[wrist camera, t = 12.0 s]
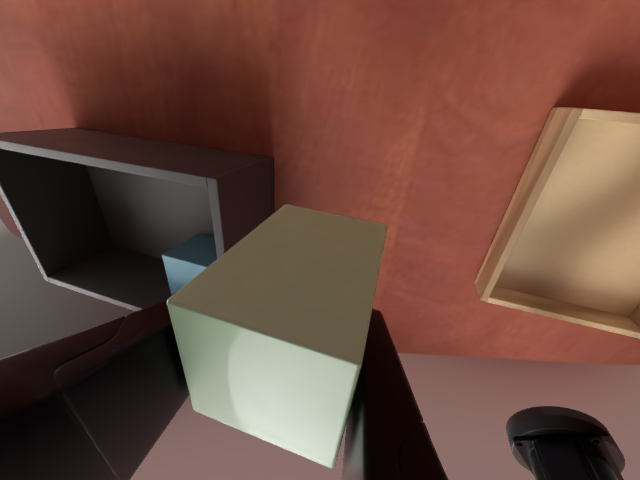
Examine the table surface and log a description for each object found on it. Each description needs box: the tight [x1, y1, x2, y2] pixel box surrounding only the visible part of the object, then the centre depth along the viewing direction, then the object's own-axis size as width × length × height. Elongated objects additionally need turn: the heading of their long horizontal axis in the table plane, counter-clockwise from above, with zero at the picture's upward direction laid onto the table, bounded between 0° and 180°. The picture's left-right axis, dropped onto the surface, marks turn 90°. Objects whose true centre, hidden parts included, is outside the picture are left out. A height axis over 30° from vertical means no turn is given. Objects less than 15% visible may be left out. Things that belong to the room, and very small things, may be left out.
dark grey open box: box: [0, 128, 274, 311], centre depth 21 cm, size 19×12×6 cm, turn 85°
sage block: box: [167, 204, 387, 468], centre depth 8 cm, size 4×4×6 cm
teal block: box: [162, 234, 217, 295], centre depth 22 cm, size 4×4×6 cm
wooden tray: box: [474, 107, 640, 339], centre depth 14 cm, size 9×11×2 cm
